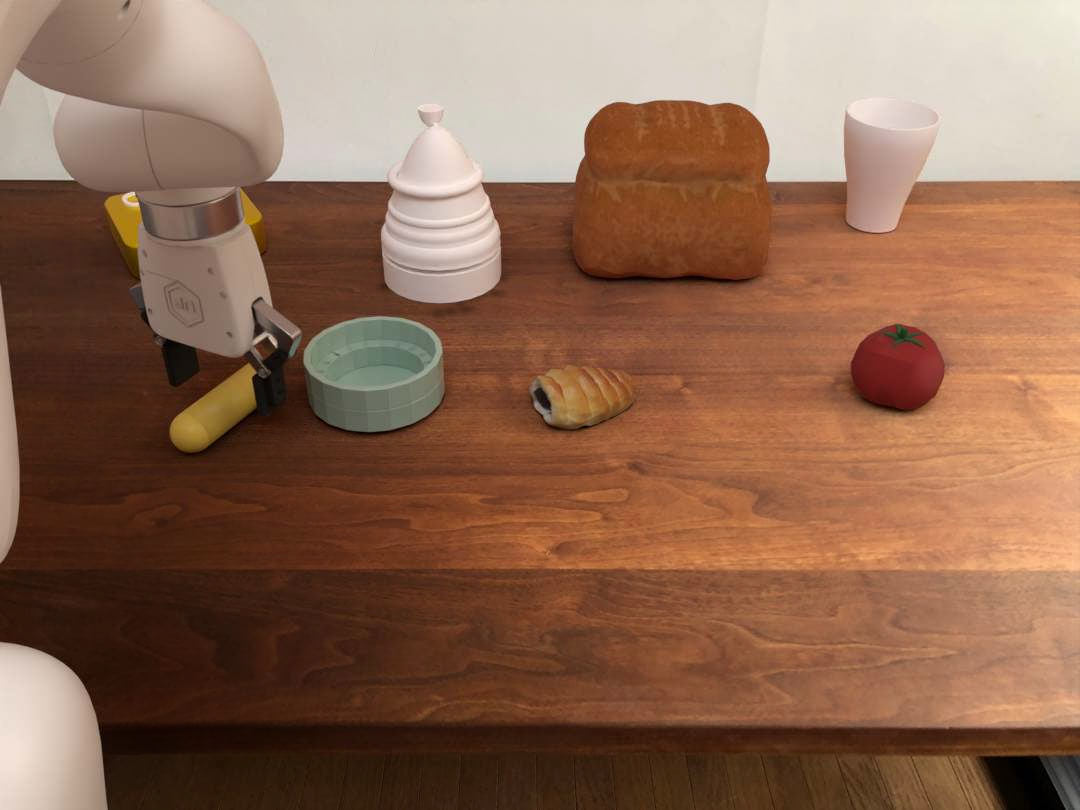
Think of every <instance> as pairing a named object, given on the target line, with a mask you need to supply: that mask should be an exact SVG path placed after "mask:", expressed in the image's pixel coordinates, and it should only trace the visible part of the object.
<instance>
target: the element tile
mask: <svg viewBox="0 0 1080 810" xmlns="http://www.w3.org/2000/svg"><path fill="white" fill-rule="evenodd" d="M240 193H241V199H242V205H243V211H244V217H245V224H247V225H249V226H250V228H251V231H252V233H253V236H254V238H255V241H256V244H257V247H258V250H259V253H260V255H262V254H263V253H264V252H266V251H267V248H268V245H267V238H266V232H265V225H264V218H263V215H262V213H261V212H260V211H259V209H258V208H257V206H255V205H254V203H253V202H252V201H251V199H250V198H249V196H248V195H247V194H246V193H245V191H243V189H242V187H240ZM104 210H105V213H106V218H107V221H108V225H109V230H110V233H111V236H112V238H113V240H114V242H115V244H116V246H117V248H118V249H119V252H120V253H121V255H122V258H123V259H124V262H125V263H126V265H127V267H128V269H129V271H130V273H131V274H132V276H133V277H134V278H135V279H137V280H141V278H140V270H139V260H138V226H139V224H140V222H142V221H143V220H142V215H141V211H140V207H139V202H138V198H137V197H136V196H135V192H124V193H119V194H115V195H111V196H109V197H108V198H107V199H106V200H105V202H104Z"/></svg>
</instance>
